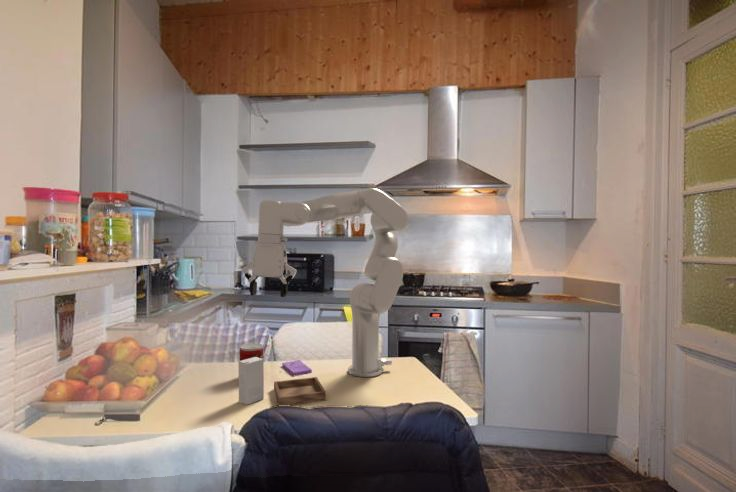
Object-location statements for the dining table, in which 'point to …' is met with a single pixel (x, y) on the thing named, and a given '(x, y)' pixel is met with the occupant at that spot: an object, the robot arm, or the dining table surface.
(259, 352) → the canned food
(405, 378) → the dining table surface
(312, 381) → the tray
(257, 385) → the skincare box
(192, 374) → the dining table surface
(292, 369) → the sponges
